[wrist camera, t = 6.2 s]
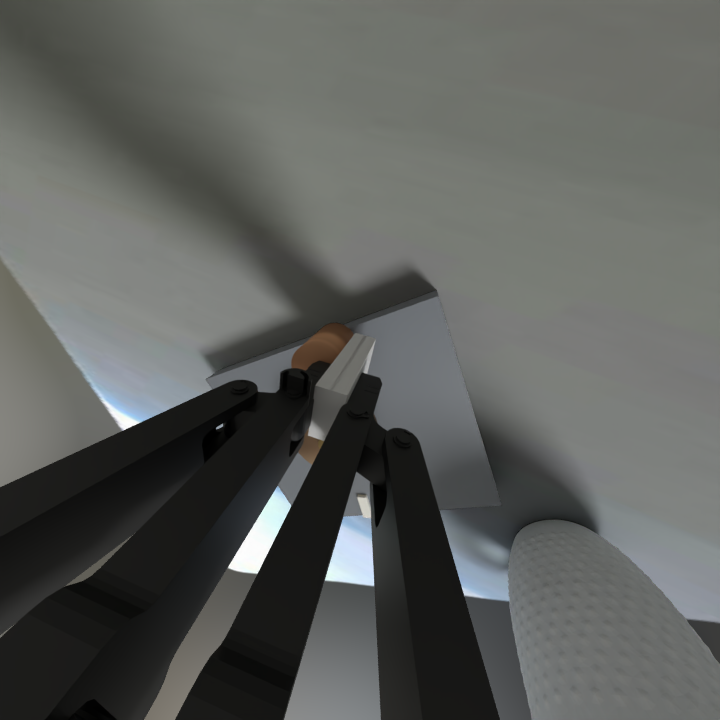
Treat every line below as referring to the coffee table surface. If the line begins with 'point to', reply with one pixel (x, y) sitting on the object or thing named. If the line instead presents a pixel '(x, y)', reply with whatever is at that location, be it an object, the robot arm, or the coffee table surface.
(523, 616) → the mug
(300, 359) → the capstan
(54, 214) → the coffee table surface
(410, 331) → the board
